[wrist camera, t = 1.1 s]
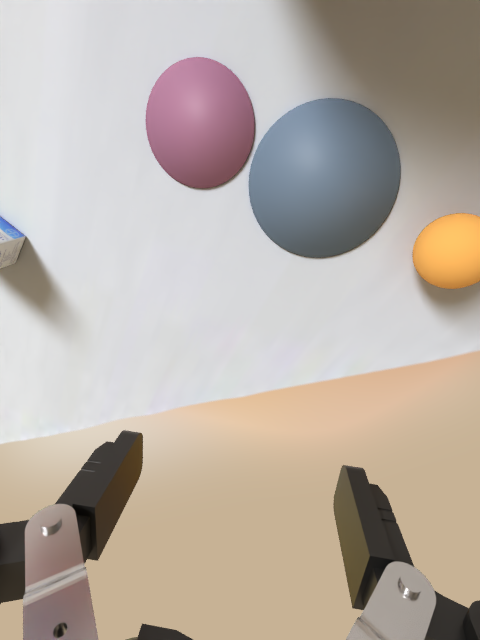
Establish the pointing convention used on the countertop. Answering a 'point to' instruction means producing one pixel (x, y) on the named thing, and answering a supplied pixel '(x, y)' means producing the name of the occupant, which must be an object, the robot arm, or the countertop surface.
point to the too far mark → (200, 122)
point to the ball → (449, 251)
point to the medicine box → (9, 243)
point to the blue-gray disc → (324, 177)
